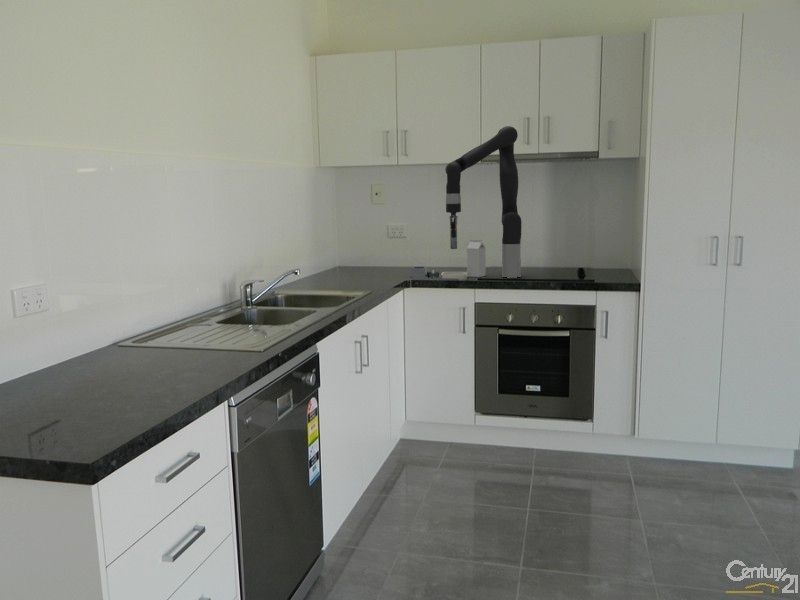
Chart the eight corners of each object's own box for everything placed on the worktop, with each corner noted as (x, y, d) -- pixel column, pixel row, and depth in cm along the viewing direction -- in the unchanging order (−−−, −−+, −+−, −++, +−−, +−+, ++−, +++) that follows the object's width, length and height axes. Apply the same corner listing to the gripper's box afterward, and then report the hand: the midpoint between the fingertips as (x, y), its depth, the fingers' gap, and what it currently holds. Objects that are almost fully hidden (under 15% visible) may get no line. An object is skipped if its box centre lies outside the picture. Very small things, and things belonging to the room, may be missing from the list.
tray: (467, 277, 348) (467, 271, 348) (466, 280, 336) (466, 274, 336) (442, 277, 350) (442, 271, 349) (440, 280, 338) (440, 274, 338)
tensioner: (440, 277, 350) (440, 266, 349) (439, 280, 340) (438, 268, 339) (413, 277, 352) (413, 266, 351) (411, 280, 342) (411, 268, 341)
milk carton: (478, 277, 346) (478, 240, 343) (466, 276, 351) (466, 240, 348) (485, 276, 352) (485, 239, 349) (473, 275, 356) (473, 239, 353)
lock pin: (457, 248, 342) (457, 224, 340) (457, 249, 339) (456, 225, 337) (450, 248, 342) (450, 224, 341) (450, 249, 339) (449, 225, 337)
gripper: (460, 203, 329) (460, 238, 332) (461, 202, 343) (461, 236, 346) (445, 203, 330) (445, 238, 333) (446, 202, 344) (447, 236, 347)
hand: (453, 237), depth 340 cm, fingers closed on lock pin, 3 cm apart
